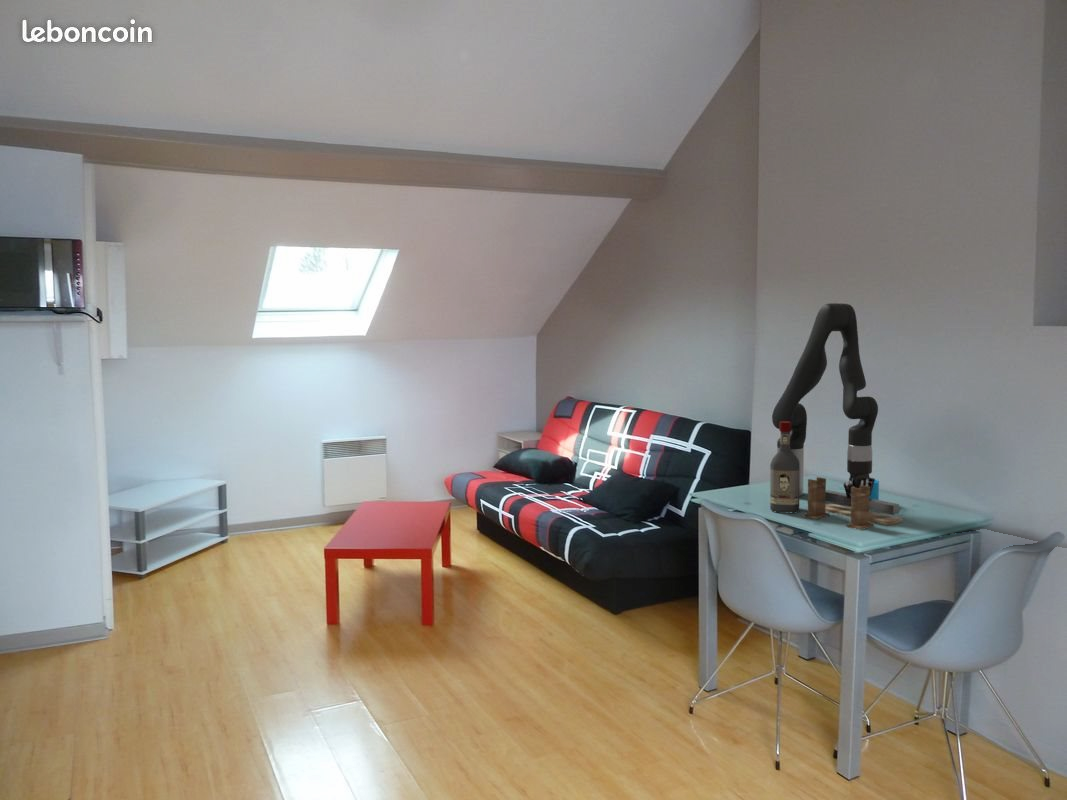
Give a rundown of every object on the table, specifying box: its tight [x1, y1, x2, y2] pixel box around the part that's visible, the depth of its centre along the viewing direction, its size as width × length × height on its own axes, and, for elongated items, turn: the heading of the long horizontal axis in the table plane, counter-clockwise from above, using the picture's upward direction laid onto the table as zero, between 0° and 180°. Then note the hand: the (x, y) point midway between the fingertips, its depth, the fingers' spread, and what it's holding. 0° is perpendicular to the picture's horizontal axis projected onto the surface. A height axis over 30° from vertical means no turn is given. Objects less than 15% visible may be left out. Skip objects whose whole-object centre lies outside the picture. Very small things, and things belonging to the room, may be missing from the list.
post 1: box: [803, 476, 831, 520], centre depth 269 cm, size 5×7×12 cm
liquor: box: [769, 421, 800, 513], centre depth 277 cm, size 9×9×30 cm
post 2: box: [845, 485, 875, 531], centre depth 256 cm, size 5×7×12 cm
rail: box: [826, 489, 900, 516], centre depth 268 cm, size 26×3×3 cm, turn 34°
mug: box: [850, 478, 880, 500], centre depth 286 cm, size 12×8×8 cm
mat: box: [825, 503, 903, 526], centre depth 269 cm, size 26×7×1 cm, turn 34°
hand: (858, 510), depth 269 cm, fingers closed on rail, 3 cm apart
